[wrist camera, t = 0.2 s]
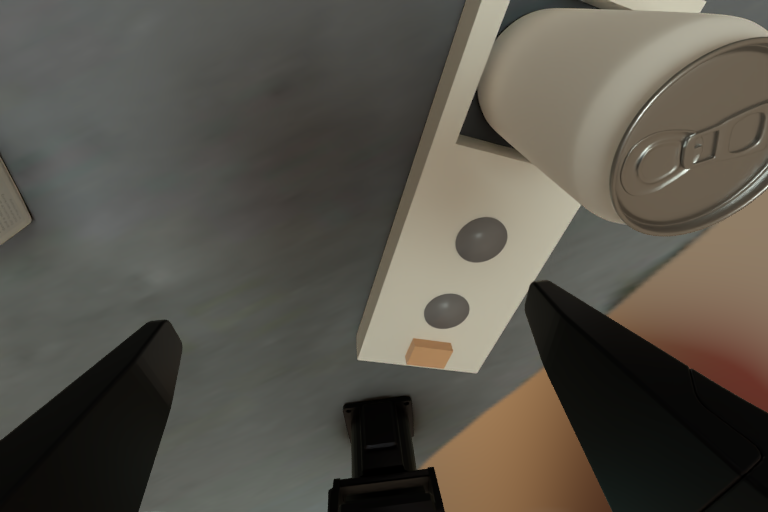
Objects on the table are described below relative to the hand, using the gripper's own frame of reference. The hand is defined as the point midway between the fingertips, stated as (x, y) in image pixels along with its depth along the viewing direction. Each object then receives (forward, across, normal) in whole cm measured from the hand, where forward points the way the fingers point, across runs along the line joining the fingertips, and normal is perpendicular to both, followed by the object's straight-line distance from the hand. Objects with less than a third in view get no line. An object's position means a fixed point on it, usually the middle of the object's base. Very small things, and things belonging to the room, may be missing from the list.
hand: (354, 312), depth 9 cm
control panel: (+14, -8, +6) cm, 17 cm away
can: (+15, -10, -2) cm, 18 cm away
